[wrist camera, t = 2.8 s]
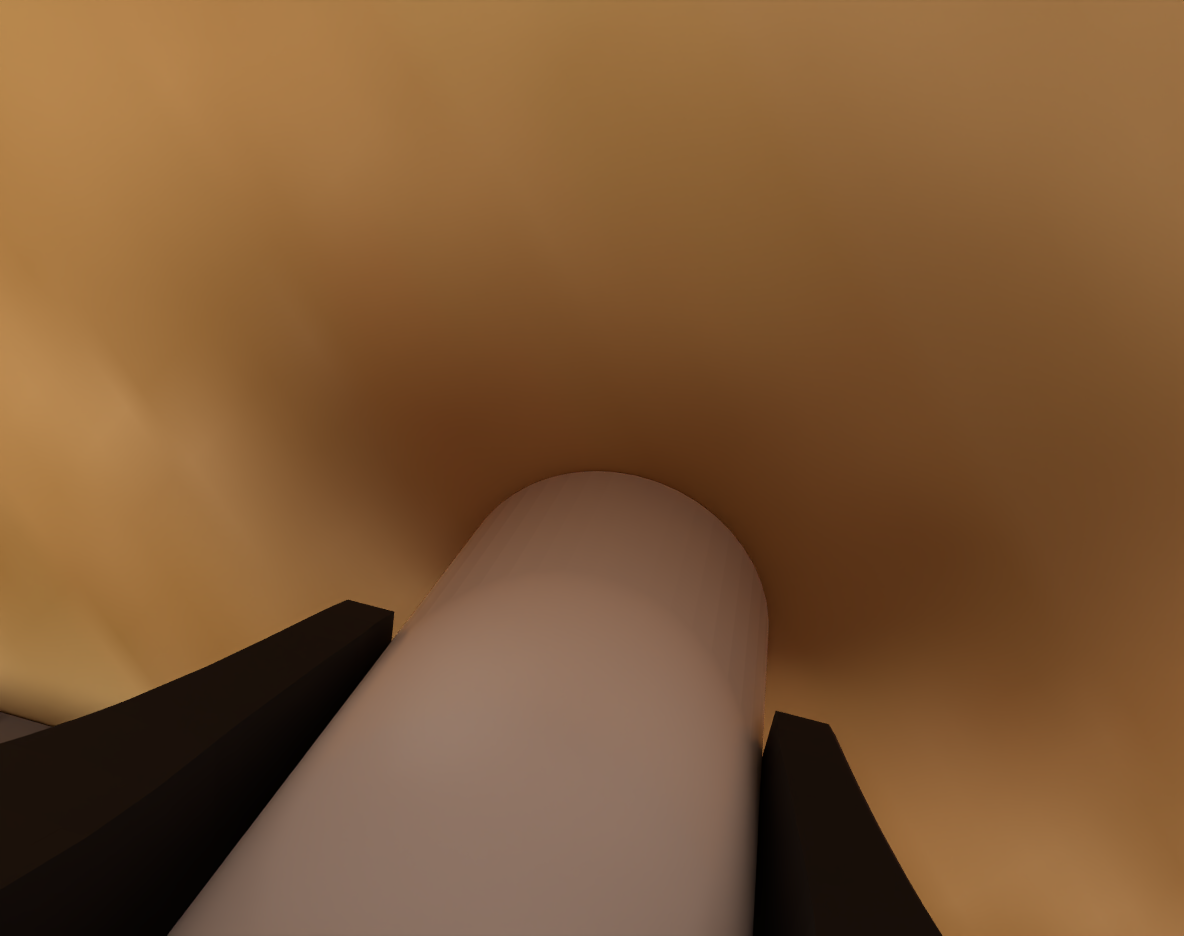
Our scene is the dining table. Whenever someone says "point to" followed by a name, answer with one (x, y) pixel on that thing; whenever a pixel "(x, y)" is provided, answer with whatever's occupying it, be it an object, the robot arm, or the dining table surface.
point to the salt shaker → (535, 742)
